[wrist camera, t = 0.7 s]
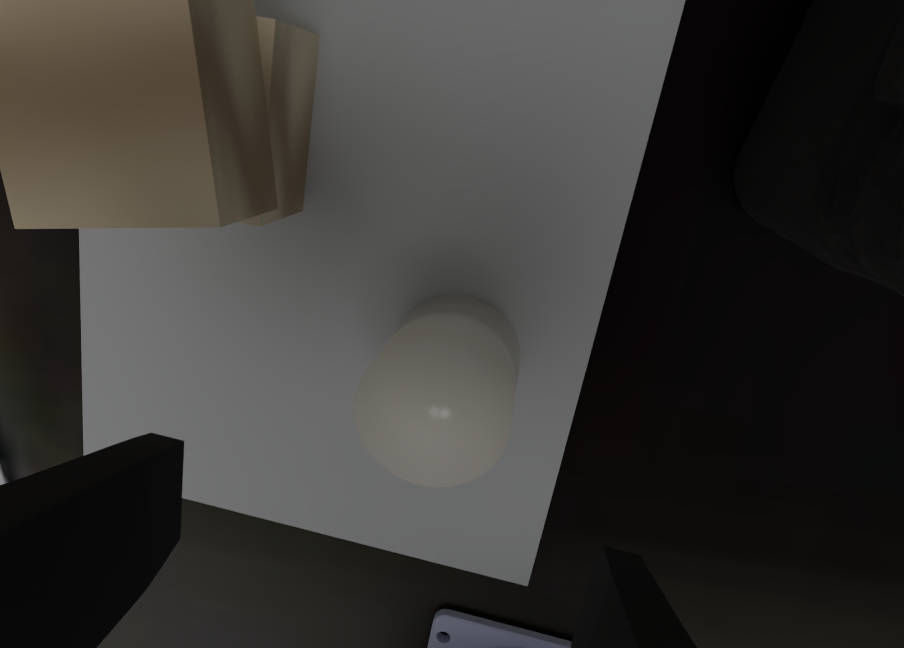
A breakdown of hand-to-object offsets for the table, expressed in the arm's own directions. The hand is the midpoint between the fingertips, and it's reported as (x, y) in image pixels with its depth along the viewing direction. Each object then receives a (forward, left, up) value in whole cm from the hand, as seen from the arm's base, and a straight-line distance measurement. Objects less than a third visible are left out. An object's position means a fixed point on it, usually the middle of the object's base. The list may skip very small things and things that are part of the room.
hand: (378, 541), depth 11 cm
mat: (+2, +5, -10) cm, 11 cm away
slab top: (+6, +8, -7) cm, 12 cm away
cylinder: (0, 0, -10) cm, 10 cm away
